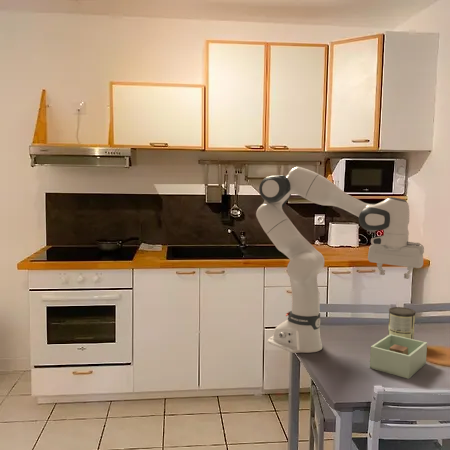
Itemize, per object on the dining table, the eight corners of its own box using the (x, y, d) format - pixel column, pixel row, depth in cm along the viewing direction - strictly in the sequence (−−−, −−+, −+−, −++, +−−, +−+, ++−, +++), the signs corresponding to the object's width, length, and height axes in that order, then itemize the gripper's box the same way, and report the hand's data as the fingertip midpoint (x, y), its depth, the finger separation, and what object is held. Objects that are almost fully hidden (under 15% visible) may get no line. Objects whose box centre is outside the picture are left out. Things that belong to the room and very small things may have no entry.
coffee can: (383, 339, 203) (385, 306, 201) (407, 339, 203) (409, 306, 202) (393, 347, 193) (394, 314, 191) (418, 347, 193) (420, 313, 191)
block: (388, 363, 174) (389, 347, 174) (393, 359, 178) (394, 344, 177) (402, 367, 171) (403, 351, 170) (407, 363, 175) (408, 347, 174)
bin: (369, 367, 172) (370, 346, 171) (389, 354, 186) (389, 334, 185) (408, 378, 163) (409, 356, 162) (425, 363, 177) (427, 342, 176)
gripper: (427, 242, 175) (425, 279, 177) (373, 237, 189) (372, 271, 190) (421, 244, 171) (419, 282, 172) (366, 238, 184) (365, 274, 185)
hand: (394, 276), depth 181 cm, fingers open, 8 cm apart
